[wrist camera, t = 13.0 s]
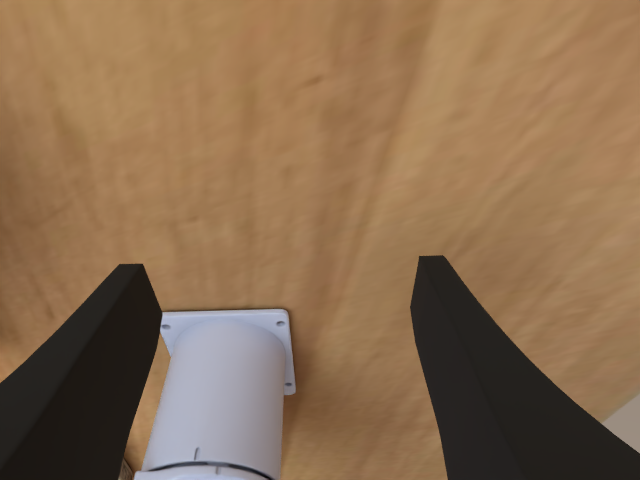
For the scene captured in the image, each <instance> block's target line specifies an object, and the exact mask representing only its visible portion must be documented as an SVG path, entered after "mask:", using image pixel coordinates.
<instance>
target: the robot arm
mask: <svg viewBox="0 0 640 480" xmlns="http://www.w3.org/2000/svg"><path fill="white" fill-rule="evenodd" d="M410 309H411V316H412V323H413V330H414V336H415V343H416V346H417V350H418V354H419V358H420V361H421V365H422V369H423V373H424V376H425V380H426V383H427V387H428V391H429V394H430V398H431V402H432V405H433V409H434V413H435V416H436V420H437V424H438V428H439V433H440V437H441V442H442V448H443V454H444V460H445V465H446V471H447V477H448V480H640V453H638V452H637V451H636V450H634V449H633V448H632V447H630V446H629V445H628V444H626V443H625V442H623V441H622V440H621V439H619V438H618V437H617V436H616V435H614V434H613V433H612V432H611V431H609V430H608V429H607V428H606V427H604V426H603V425H602V424H601V423H600V422H598V421H597V420H596V419H595V418H593V417H592V416H591V415H590V414H589V413H587V412H586V411H585V410H584V409H582V408H581V407H580V406H579V405H578V404H576V403H575V402H574V401H573V400H572V399H571V398H570V397H568V396H567V395H566V394H565V393H564V392H563V391H562V390H561V389H560V388H558V387H557V386H556V385H555V384H554V383H553V382H552V381H551V380H550V379H549V378H548V377H547V376H546V375H545V374H544V373H542V372H541V371H540V370H539V369H538V368H537V367H536V366H535V365H534V364H533V363H532V362H531V361H530V360H529V359H528V358H527V357H526V356H525V355H524V353H523V352H522V351H521V350H520V349H519V348H518V347H517V346H516V345H515V344H514V343H513V342H512V341H511V340H510V338H509V337H508V336H507V335H506V334H505V333H504V332H503V331H502V329H501V328H500V327H499V326H498V325H497V324H496V322H495V321H494V320H493V319H492V318H491V316H490V315H489V314H488V313H487V312H486V310H485V309H484V308H483V307H482V306H481V304H480V303H479V302H478V301H477V299H476V298H475V297H474V296H473V294H472V293H471V292H470V290H469V289H468V288H467V286H466V285H465V284H464V282H463V281H462V280H461V278H460V277H459V276H458V274H457V273H456V272H455V270H454V269H453V267H452V266H451V265H450V263H449V262H448V260H447V259H446V258H445V257H444V256H443V255H442V256H419V262H418V267H417V273H416V278H415V284H414V289H413V295H412V300H411V306H410ZM160 332H161V335H162V337H163V339H164V342H165V344H166V346H167V349H168V351H169V354H170V356H171V361H170V364H169V368H168V372H167V376H166V379H165V383H164V387H163V391H162V394H161V398H160V402H159V406H158V409H157V413H156V417H155V421H154V424H153V428H152V432H151V435H150V439H149V443H148V447H147V450H146V454H145V458H144V462H143V465H142V469H141V471H137V472H136V473H135V476H134V480H280V472H281V449H282V426H283V403H284V395H292V394H294V393H295V392H296V383H295V373H294V364H293V354H292V344H291V334H290V325H289V315H288V312H287V311H286V310H283V309H258V310H221V311H185V312H162V311H161V308H160V306H159V303H158V301H157V298H156V296H155V293H154V291H153V288H152V286H151V283H150V281H149V278H148V276H147V273H146V271H145V268H144V266H143V264H119V265H118V266H117V267H116V268H115V269H114V270H113V271H112V273H111V274H110V275H109V276H108V277H107V278H106V279H105V280H104V281H103V282H102V283H101V284H100V285H99V286H98V288H97V289H96V290H95V291H94V292H93V293H92V294H91V295H90V296H89V297H88V298H87V299H86V301H85V302H84V303H83V304H82V305H81V306H80V307H79V308H78V309H77V310H76V311H75V312H74V313H73V314H72V315H71V316H70V317H69V318H68V319H67V321H66V322H65V323H64V324H63V325H62V326H61V327H60V328H59V329H58V330H57V331H56V332H55V333H54V334H53V335H52V336H51V337H50V338H49V339H48V340H47V341H46V342H45V343H44V344H43V345H41V346H40V347H39V348H38V349H37V350H36V351H35V352H34V353H33V354H32V355H31V356H30V357H29V358H28V359H27V360H26V361H25V362H24V363H23V364H22V365H20V366H19V367H18V368H17V369H16V370H15V371H14V372H13V373H12V374H10V375H9V376H8V377H7V378H6V379H5V380H3V381H2V382H1V383H0V480H118V479H119V475H120V470H121V465H122V461H123V456H124V452H125V447H126V444H127V440H128V437H129V433H130V429H131V426H132V423H133V420H134V417H135V414H136V411H137V408H138V405H139V402H140V399H141V396H142V393H143V390H144V387H145V384H146V381H147V378H148V374H149V371H150V368H151V365H152V362H153V359H154V356H155V352H156V349H157V344H158V339H159V334H160Z"/></svg>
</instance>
